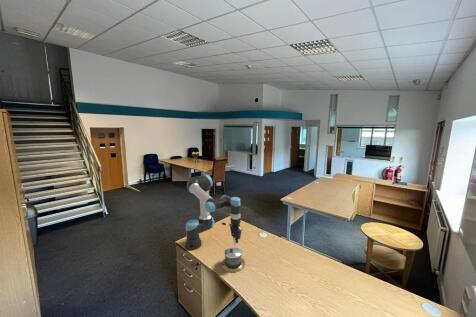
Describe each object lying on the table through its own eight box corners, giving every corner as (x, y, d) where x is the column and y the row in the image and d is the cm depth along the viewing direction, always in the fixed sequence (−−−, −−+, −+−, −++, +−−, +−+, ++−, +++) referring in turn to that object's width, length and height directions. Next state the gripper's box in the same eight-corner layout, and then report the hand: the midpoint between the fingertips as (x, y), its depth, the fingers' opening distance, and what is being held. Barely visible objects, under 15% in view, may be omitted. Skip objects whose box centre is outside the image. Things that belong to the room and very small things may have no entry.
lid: (220, 253, 167) (220, 250, 167) (233, 246, 176) (233, 243, 176) (232, 261, 156) (231, 257, 156) (245, 253, 165) (245, 250, 165)
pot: (216, 263, 169) (216, 254, 167) (234, 253, 181) (234, 244, 180) (231, 276, 155) (231, 266, 153) (250, 264, 167) (249, 254, 166)
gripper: (226, 216, 160) (226, 244, 164) (237, 222, 150) (237, 251, 155) (233, 213, 164) (234, 240, 169) (245, 219, 155) (245, 247, 160)
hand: (235, 245), depth 162 cm, fingers closed
